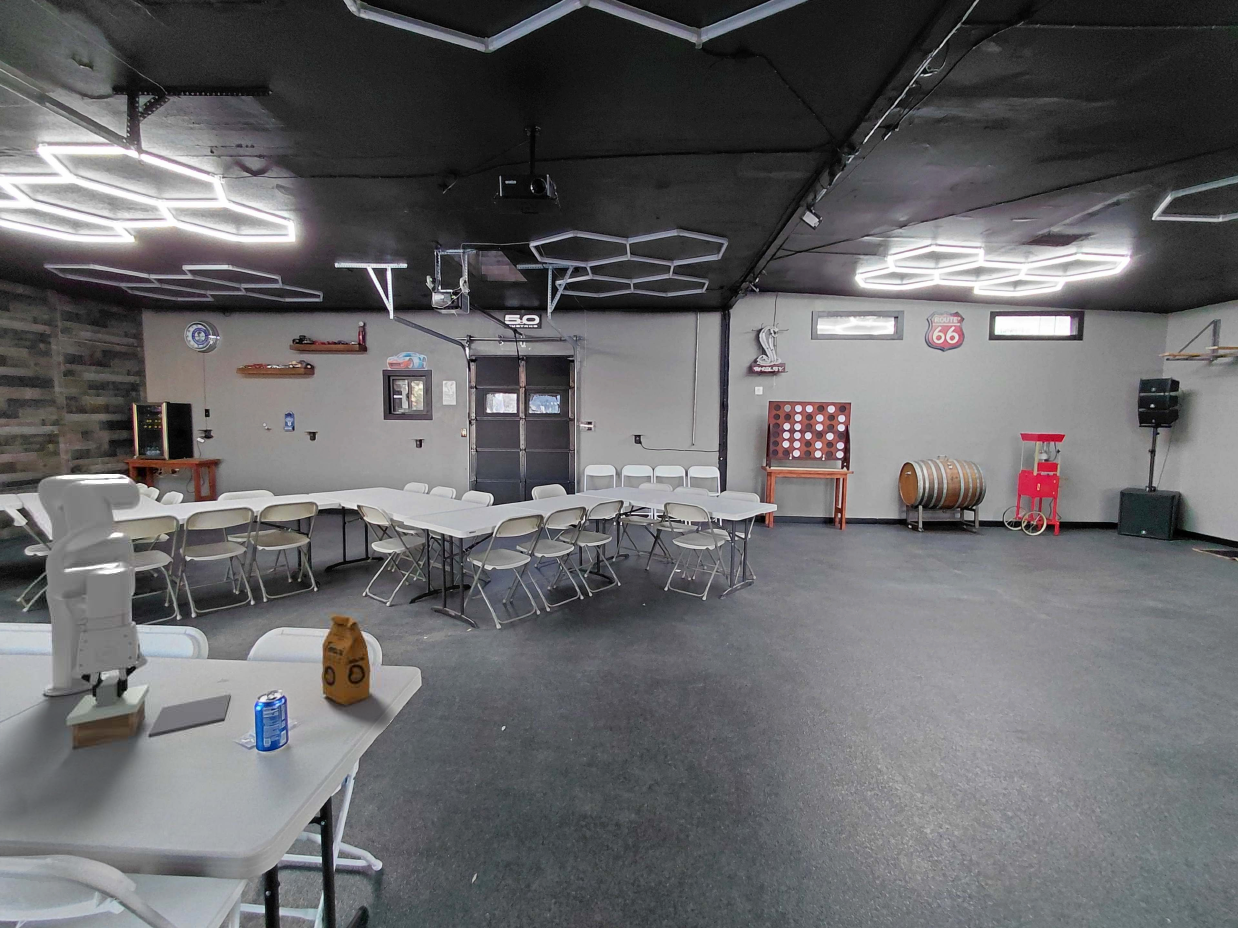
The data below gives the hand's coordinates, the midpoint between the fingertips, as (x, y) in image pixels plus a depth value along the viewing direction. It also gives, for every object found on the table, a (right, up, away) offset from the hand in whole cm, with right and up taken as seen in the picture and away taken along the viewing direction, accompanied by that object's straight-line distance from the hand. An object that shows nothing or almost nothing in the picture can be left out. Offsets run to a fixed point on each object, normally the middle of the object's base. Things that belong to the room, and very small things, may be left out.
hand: (110, 696), depth 118 cm
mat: (+12, -9, +8) cm, 17 cm away
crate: (0, -9, 0) cm, 9 cm away
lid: (0, -3, 0) cm, 3 cm away
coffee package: (+46, -9, +19) cm, 51 cm away
